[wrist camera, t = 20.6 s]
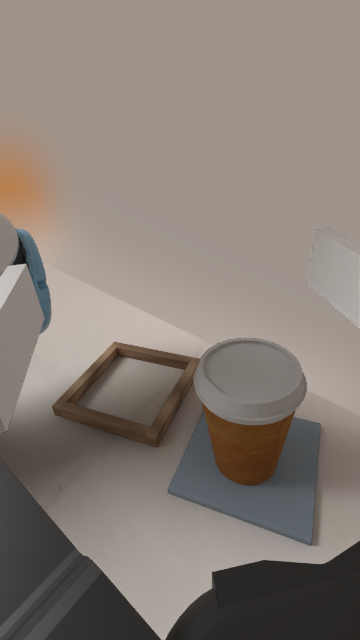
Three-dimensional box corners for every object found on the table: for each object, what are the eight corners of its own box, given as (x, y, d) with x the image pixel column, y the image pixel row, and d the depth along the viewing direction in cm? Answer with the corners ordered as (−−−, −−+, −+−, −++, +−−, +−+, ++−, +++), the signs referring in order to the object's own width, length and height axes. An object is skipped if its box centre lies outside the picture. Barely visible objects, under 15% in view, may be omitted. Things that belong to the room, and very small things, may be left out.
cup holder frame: (157, 447, 37) (155, 438, 36) (54, 414, 42) (51, 406, 41) (200, 367, 48) (200, 359, 47) (115, 349, 53) (114, 341, 52)
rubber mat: (310, 545, 27) (311, 542, 27) (167, 492, 32) (167, 489, 32) (320, 426, 37) (320, 423, 37) (210, 399, 42) (210, 397, 42)
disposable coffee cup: (195, 425, 38) (188, 339, 32) (277, 417, 38) (286, 330, 32) (204, 507, 30) (197, 414, 24) (308, 497, 30) (329, 402, 24)
